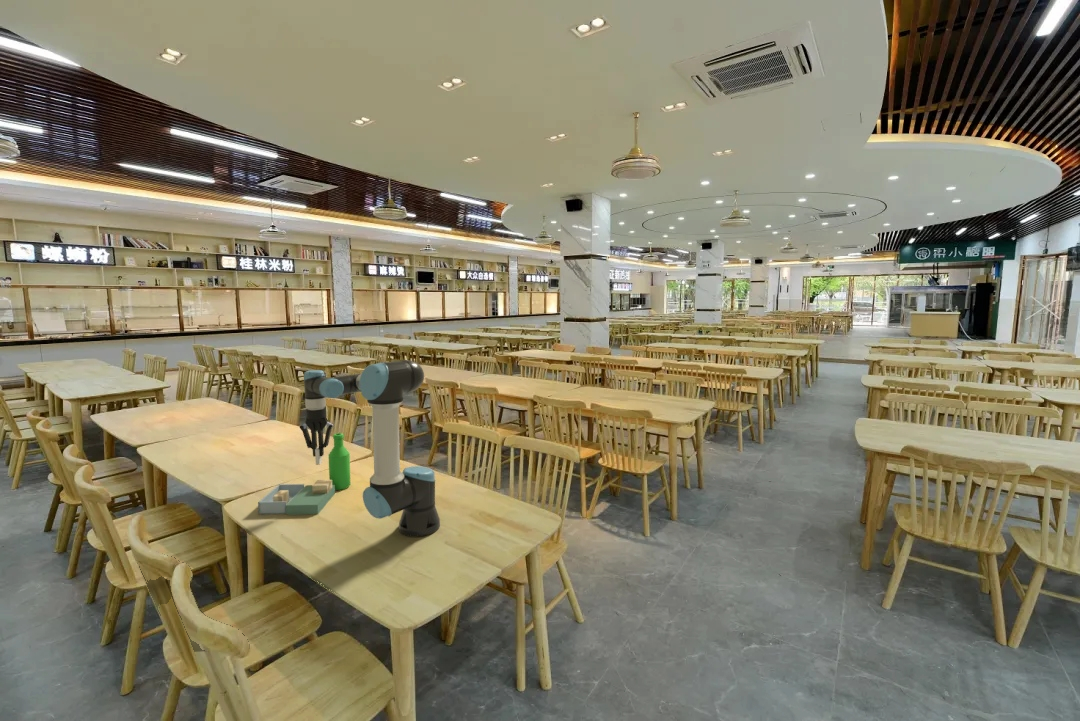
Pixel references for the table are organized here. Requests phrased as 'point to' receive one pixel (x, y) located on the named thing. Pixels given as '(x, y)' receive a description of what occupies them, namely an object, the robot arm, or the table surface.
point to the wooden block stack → (322, 486)
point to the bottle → (339, 464)
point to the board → (308, 501)
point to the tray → (280, 507)
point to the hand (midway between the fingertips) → (318, 463)
